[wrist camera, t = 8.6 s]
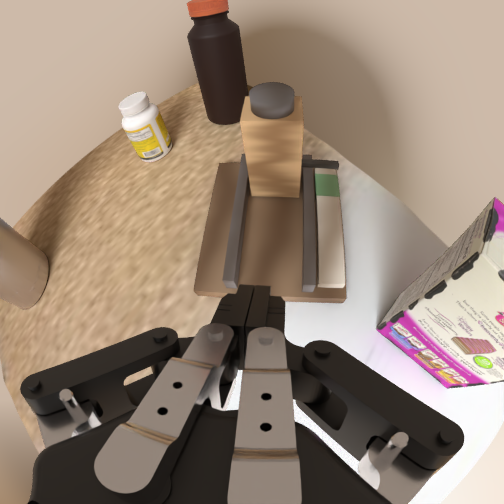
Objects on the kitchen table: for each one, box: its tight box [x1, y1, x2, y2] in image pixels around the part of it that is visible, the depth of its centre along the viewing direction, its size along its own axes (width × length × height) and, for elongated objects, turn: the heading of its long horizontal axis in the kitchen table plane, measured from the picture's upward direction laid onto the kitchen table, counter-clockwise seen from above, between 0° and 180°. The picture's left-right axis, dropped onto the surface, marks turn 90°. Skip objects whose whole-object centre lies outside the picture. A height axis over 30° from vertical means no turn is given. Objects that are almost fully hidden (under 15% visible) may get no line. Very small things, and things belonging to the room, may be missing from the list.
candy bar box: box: [377, 197, 504, 388], centre depth 14 cm, size 11×5×16 cm, turn 47°
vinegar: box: [187, 0, 248, 125], centre depth 30 cm, size 7×7×20 cm
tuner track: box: [194, 154, 346, 303], centre depth 27 cm, size 14×16×4 cm
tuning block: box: [240, 82, 339, 198], centre depth 24 cm, size 9×4×12 cm, turn 85°
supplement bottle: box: [119, 92, 172, 162], centre depth 32 cm, size 5×5×10 cm
